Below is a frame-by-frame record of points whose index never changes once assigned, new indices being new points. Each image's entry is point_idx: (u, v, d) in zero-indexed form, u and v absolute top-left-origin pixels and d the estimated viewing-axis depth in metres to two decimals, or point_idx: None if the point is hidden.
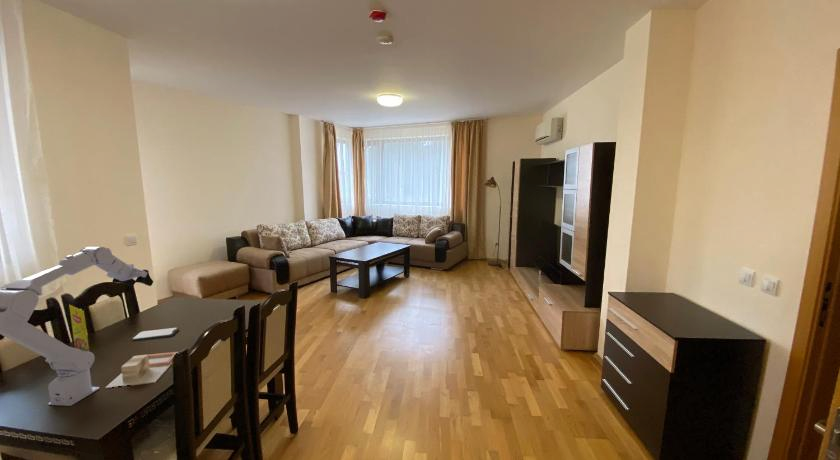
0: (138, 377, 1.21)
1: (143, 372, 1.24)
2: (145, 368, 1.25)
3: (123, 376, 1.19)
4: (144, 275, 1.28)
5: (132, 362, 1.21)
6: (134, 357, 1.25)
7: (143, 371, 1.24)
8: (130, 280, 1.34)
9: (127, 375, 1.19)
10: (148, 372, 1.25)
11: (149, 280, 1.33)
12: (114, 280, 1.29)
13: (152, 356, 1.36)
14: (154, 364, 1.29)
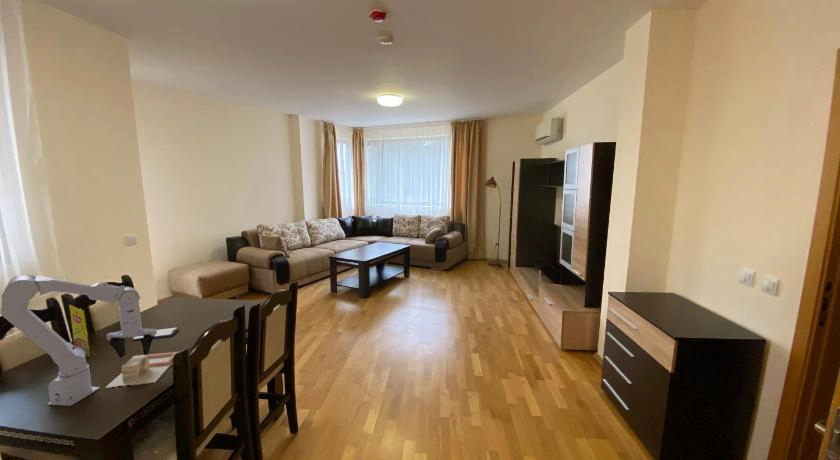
0: (138, 377, 1.21)
1: (143, 372, 1.24)
2: (145, 368, 1.25)
3: (123, 376, 1.19)
4: (154, 333, 1.22)
5: (132, 362, 1.21)
6: (134, 357, 1.25)
7: (143, 371, 1.24)
8: (122, 350, 1.21)
9: (127, 375, 1.19)
10: (148, 372, 1.25)
11: (148, 348, 1.23)
12: (112, 341, 1.18)
13: (152, 356, 1.36)
14: (154, 364, 1.29)
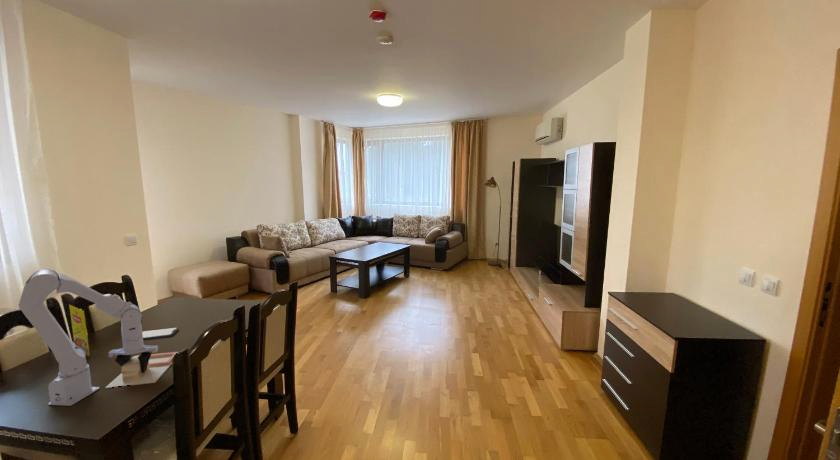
0: (138, 377, 1.21)
1: None
2: None
3: (123, 376, 1.19)
4: (156, 350, 1.23)
5: (132, 362, 1.21)
6: (134, 357, 1.25)
7: None
8: None
9: (127, 375, 1.19)
10: (148, 372, 1.25)
11: (145, 365, 1.24)
12: (118, 358, 1.19)
13: (152, 356, 1.36)
14: (154, 364, 1.29)
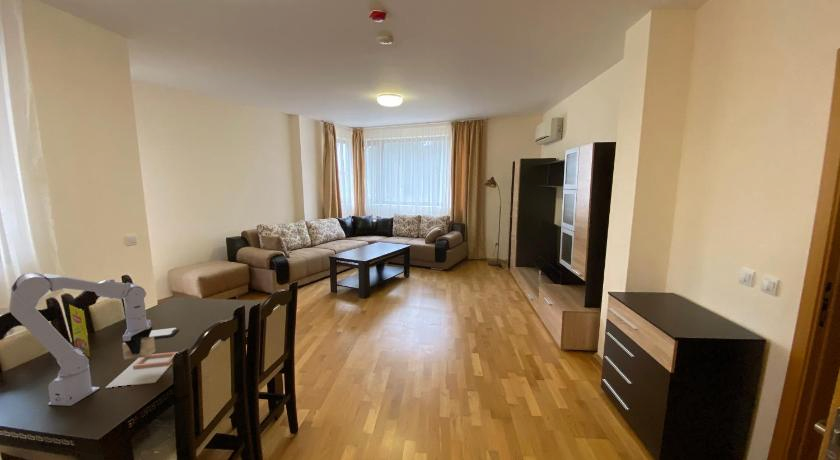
0: (125, 356, 1.22)
1: (136, 355, 1.23)
2: (140, 353, 1.23)
3: None
4: (124, 339, 1.17)
5: None
6: (148, 337, 1.26)
7: (137, 355, 1.23)
8: None
9: None
10: (148, 372, 1.25)
11: (135, 348, 1.22)
12: None
13: (152, 356, 1.36)
14: (154, 364, 1.29)
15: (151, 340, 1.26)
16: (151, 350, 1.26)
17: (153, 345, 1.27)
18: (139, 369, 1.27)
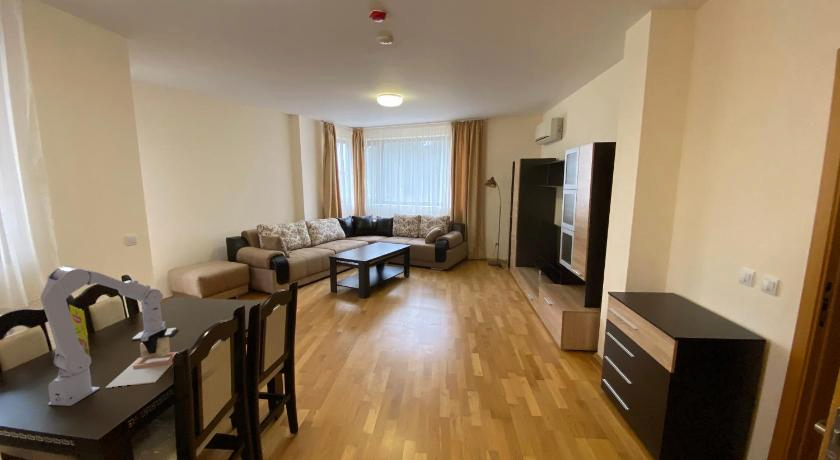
0: (142, 356, 1.30)
1: (152, 355, 1.31)
2: (157, 352, 1.31)
3: None
4: (142, 339, 1.25)
5: None
6: (163, 338, 1.34)
7: (153, 354, 1.31)
8: None
9: None
10: (148, 372, 1.25)
11: (152, 348, 1.30)
12: None
13: None
14: (154, 364, 1.29)
15: (166, 340, 1.34)
16: (166, 350, 1.34)
17: (168, 345, 1.35)
18: (139, 369, 1.27)
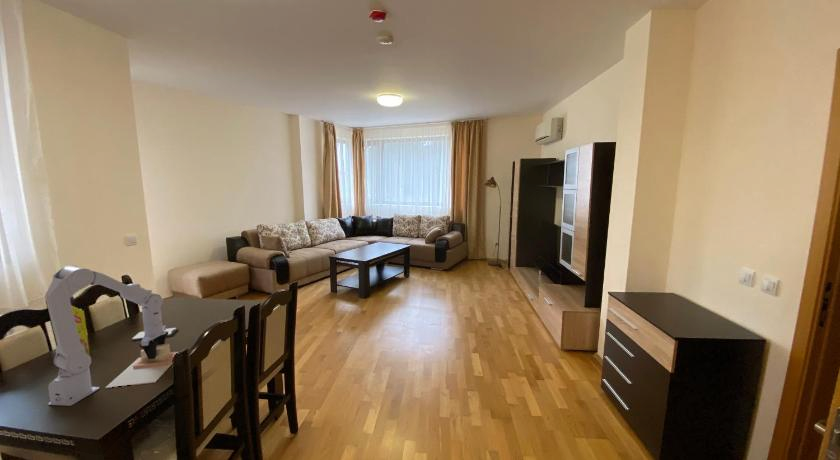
0: (143, 363, 1.30)
1: (153, 361, 1.31)
2: (157, 359, 1.31)
3: None
4: (142, 344, 1.25)
5: None
6: (164, 344, 1.35)
7: (154, 361, 1.31)
8: None
9: None
10: (148, 372, 1.25)
11: (151, 353, 1.29)
12: None
13: None
14: (154, 364, 1.29)
15: (167, 347, 1.34)
16: (167, 356, 1.34)
17: (169, 352, 1.35)
18: (139, 369, 1.27)
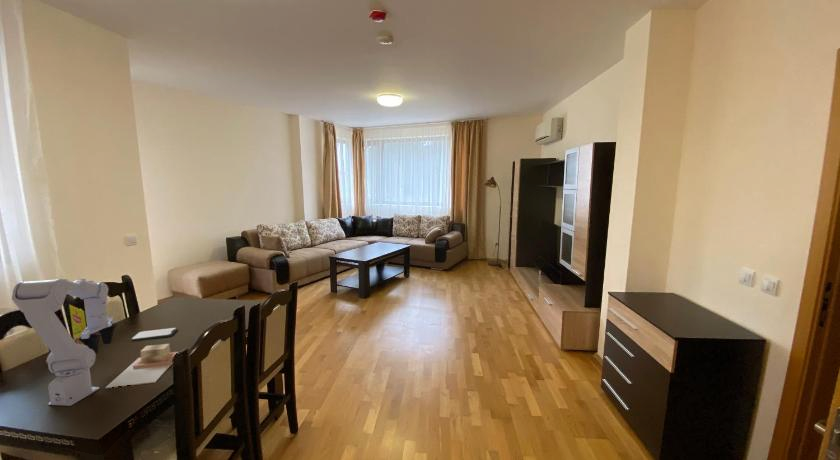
0: (143, 363, 1.30)
1: (153, 361, 1.31)
2: (157, 359, 1.31)
3: None
4: (82, 336, 1.17)
5: (151, 347, 1.32)
6: (164, 344, 1.35)
7: (154, 361, 1.31)
8: (107, 338, 1.28)
9: None
10: (148, 372, 1.25)
11: (93, 348, 1.21)
12: None
13: None
14: (154, 364, 1.29)
15: (167, 347, 1.34)
16: (167, 356, 1.34)
17: (169, 352, 1.35)
18: (139, 369, 1.27)
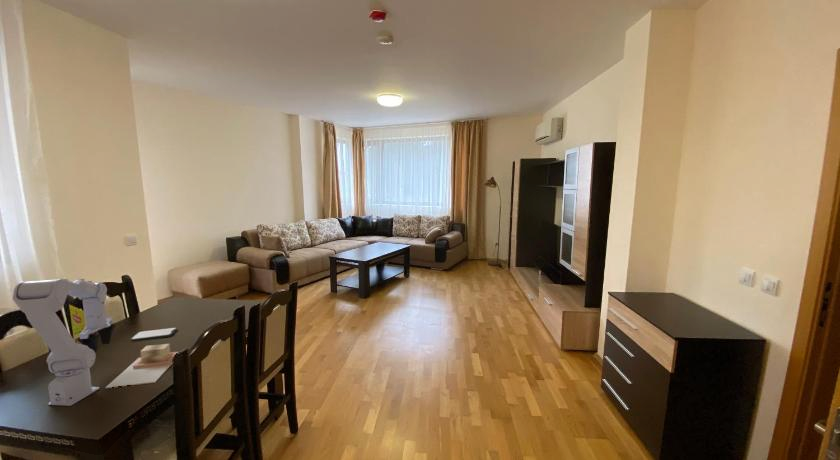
0: (143, 363, 1.30)
1: (153, 361, 1.31)
2: (157, 359, 1.31)
3: None
4: (81, 337, 1.17)
5: (151, 347, 1.32)
6: (164, 344, 1.35)
7: (154, 361, 1.31)
8: (106, 338, 1.28)
9: None
10: (148, 372, 1.25)
11: (92, 348, 1.21)
12: None
13: None
14: (154, 364, 1.29)
15: (167, 347, 1.34)
16: (167, 356, 1.34)
17: (169, 352, 1.35)
18: (139, 369, 1.27)
